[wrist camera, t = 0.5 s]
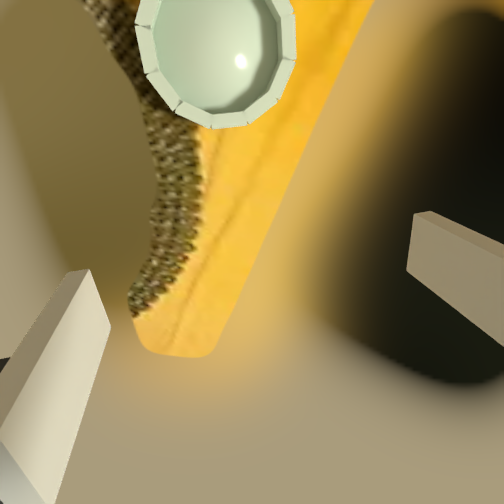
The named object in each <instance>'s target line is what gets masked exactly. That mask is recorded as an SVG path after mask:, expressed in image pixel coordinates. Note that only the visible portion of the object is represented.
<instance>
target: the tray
mask: <svg viewBox="0 0 504 504" xmlns="http://www.w3.org/2000/svg"><path fill="white" fill-rule="evenodd" d="M293 12H294V10H293V8H292V6H291V4H290V2H289V0H141V1H140V5H139V8H138V12H137V16H136V19H135V24H136V26H135V31H136V35H137V40H138V45H139V50H140V54H141V59H142V64H143V69H144V73H145V74H146V75H147V76H146V77H147V79H148V80H149V81H150V82H151V84H152V85H153V86H154V88H155V89H156V90H157V92H158V93H159V94H160V96H161V97H162V98H163V99H164V101H165V102H166V103H167V105H168V106H169V107H170V109H171V110H172V111H174V110H176V111H175V113H176V114H178V115H180V116H182V117H185V118H187V119H189V120H191V121H193V122H195V123H198V124H200V125H202V126H204V127H206V128H208V129H210V128H211V129H220V128H229V127H237V126H246V125H247V124H251V123H252V122H253V121H254V120H256V119H257V118H258V117H259V116H261V115H262V114H263V113H265V112H266V111H267V110H268V109H270V108H271V107H272V106H273V105H275V104H276V103H277V102H278V101H277V100H280V98H281V95H282V93H283V91H284V89H285V86H286V84H287V82H288V79H289V77H290V75H291V72H292V70H293V68H294V65H295V63H296V62H294V60H296V32H295V14H292V15H290V14H291V13H293Z"/></svg>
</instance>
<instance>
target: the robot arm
mask: <svg viewBox="0 0 504 504" xmlns="http://www.w3.org/2000/svg"><path fill="white" fill-rule="evenodd" d="M407 271H408V272H409V273H410V274H411V275H413V276H414V277H415V278H417V279H418V280H419V281H420V282H422V283H423V284H424V285H426V286H427V287H428V288H429V289H431V290H432V291H433V292H434V293H436V294H437V295H438V296H440V297H441V298H442V299H443V300H445V301H446V302H447V303H449V304H450V305H451V306H452V307H454V308H455V309H456V310H458V311H459V312H460V313H461V314H463V315H464V316H465V317H466V318H468V319H469V320H471V321H472V322H473V323H474V324H475V325H477V326H478V327H479V328H481V329H482V330H483V331H484V332H486V333H487V334H488V335H490V336H491V337H492V338H493V339H495V340H496V341H497V342H499V343H500V344H501V345H502V346H504V245H502V244H501V243H498V242H496V241H494V240H492V239H490V238H488V237H486V236H483V235H481V234H479V233H477V232H475V231H472V230H470V229H468V228H466V227H464V226H462V225H460V224H457V223H455V222H453V221H451V220H449V219H446V218H444V217H442V216H440V215H438V214H436V213H434V212H431V211H429V212H423V213H417V214H414V218H413V226H412V233H411V241H410V248H409V256H408V263H407ZM110 329H111V326H110V323H109V321H108V318H107V315H106V312H105V310H104V307H103V304H102V302H101V299H100V296H99V294H98V291H97V288H96V286H95V283H94V280H93V278H92V275H91V272H90V270H89V269H86V270H80V271H74V272H68V273H67V274H66V276H65V277H64V279H63V280H62V282H61V283H60V285H59V286H58V288H57V289H56V291H55V292H54V294H53V295H52V297H51V298H50V300H49V301H48V303H47V304H46V306H45V307H44V309H43V310H42V312H41V313H40V315H39V316H38V318H37V319H36V321H35V322H34V324H33V325H32V326H31V328H30V330H29V331H28V332H27V334H26V335H25V337H24V338H23V340H22V341H21V343H20V345H19V346H18V347H17V349H16V351H15V352H14V353H13V355H12V356H11V357H9V358H4V359H0V504H55V501H56V497H57V494H58V491H59V488H60V485H61V482H62V479H63V476H64V472H65V469H66V466H67V463H68V459H69V457H70V454H71V450H72V447H73V444H74V441H75V438H76V435H77V432H78V429H79V426H80V423H81V420H82V416H83V413H84V410H85V407H86V404H87V401H88V398H89V395H90V392H91V388H92V385H93V382H94V379H95V376H96V373H97V370H98V367H99V363H100V360H101V357H102V354H103V351H104V348H105V345H106V342H107V339H108V335H109V332H110Z"/></svg>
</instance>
